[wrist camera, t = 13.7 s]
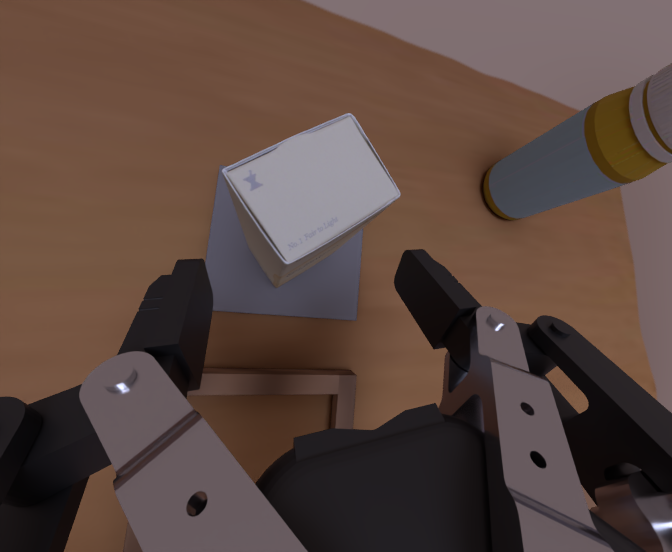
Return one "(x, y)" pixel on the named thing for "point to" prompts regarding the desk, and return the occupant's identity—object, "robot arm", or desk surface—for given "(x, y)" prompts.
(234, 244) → the charcoal mat
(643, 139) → the bottle
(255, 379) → the frame
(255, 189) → the skincare box
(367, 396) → the desk surface
